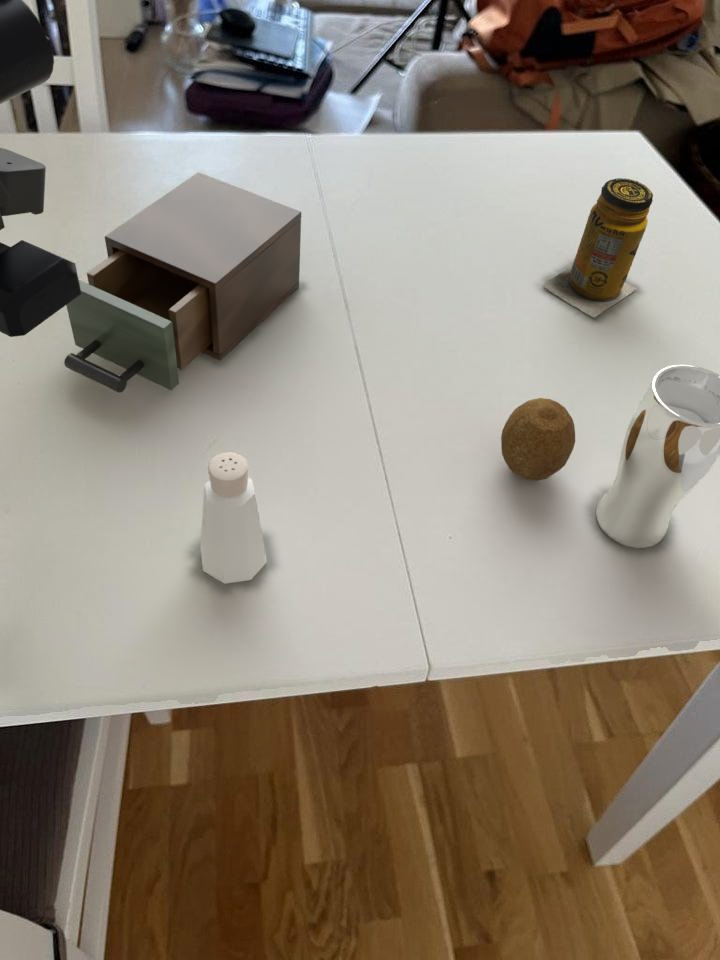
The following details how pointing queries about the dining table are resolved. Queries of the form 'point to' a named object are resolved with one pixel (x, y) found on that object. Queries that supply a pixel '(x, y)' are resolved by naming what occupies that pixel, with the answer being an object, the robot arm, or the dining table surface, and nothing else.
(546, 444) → the fruit
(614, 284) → the condiment
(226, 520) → the salt shaker
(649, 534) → the beer glass
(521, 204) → the dining table surface
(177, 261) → the cabinet
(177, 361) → the drawer
